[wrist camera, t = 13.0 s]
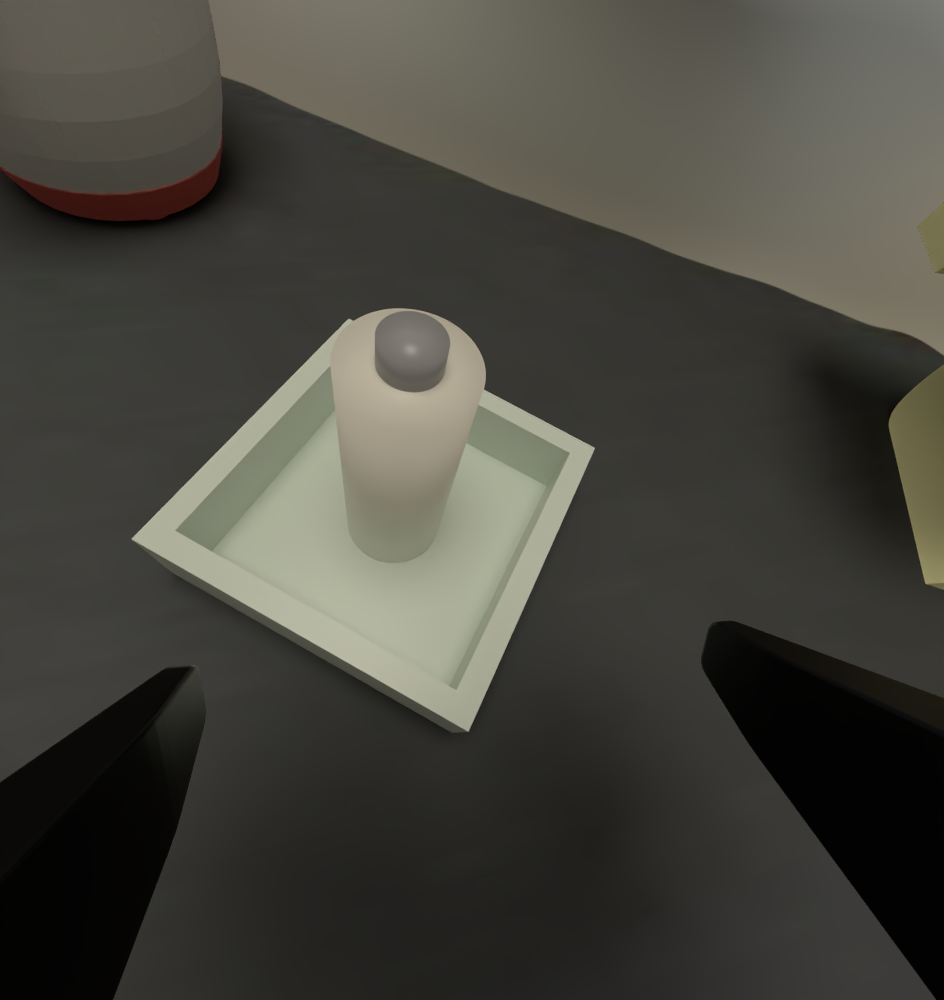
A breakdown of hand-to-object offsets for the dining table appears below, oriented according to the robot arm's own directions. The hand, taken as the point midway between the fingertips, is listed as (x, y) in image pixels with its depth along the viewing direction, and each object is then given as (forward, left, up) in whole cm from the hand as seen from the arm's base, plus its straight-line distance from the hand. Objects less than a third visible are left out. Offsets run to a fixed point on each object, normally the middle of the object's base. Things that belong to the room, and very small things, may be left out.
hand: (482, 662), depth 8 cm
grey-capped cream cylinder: (+7, +5, -13) cm, 16 cm away
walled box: (+7, +5, -14) cm, 16 cm away
